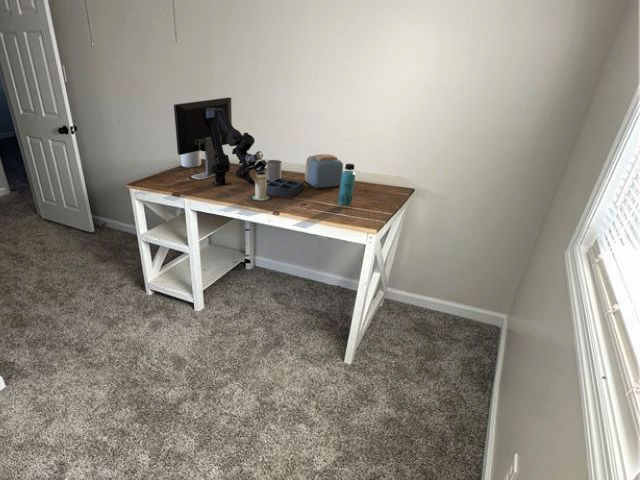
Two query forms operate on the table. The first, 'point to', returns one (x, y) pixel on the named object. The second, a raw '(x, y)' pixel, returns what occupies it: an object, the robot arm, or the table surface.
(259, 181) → the pen pot
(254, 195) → the coaster
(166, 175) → the table surface
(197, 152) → the cylinder vase
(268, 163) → the cup
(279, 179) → the organizer
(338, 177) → the blue rounded cube
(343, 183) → the beverage bottle
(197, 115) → the computer monitor
